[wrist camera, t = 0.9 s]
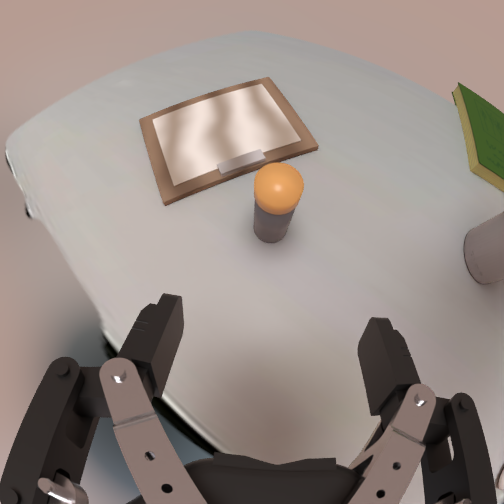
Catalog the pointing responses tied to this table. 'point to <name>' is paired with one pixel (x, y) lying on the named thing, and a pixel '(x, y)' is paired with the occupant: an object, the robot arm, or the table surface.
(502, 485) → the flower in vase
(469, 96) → the hardcover book
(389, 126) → the table surface
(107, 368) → the robot arm
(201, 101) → the clipboard
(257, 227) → the orange and grey cylinder
